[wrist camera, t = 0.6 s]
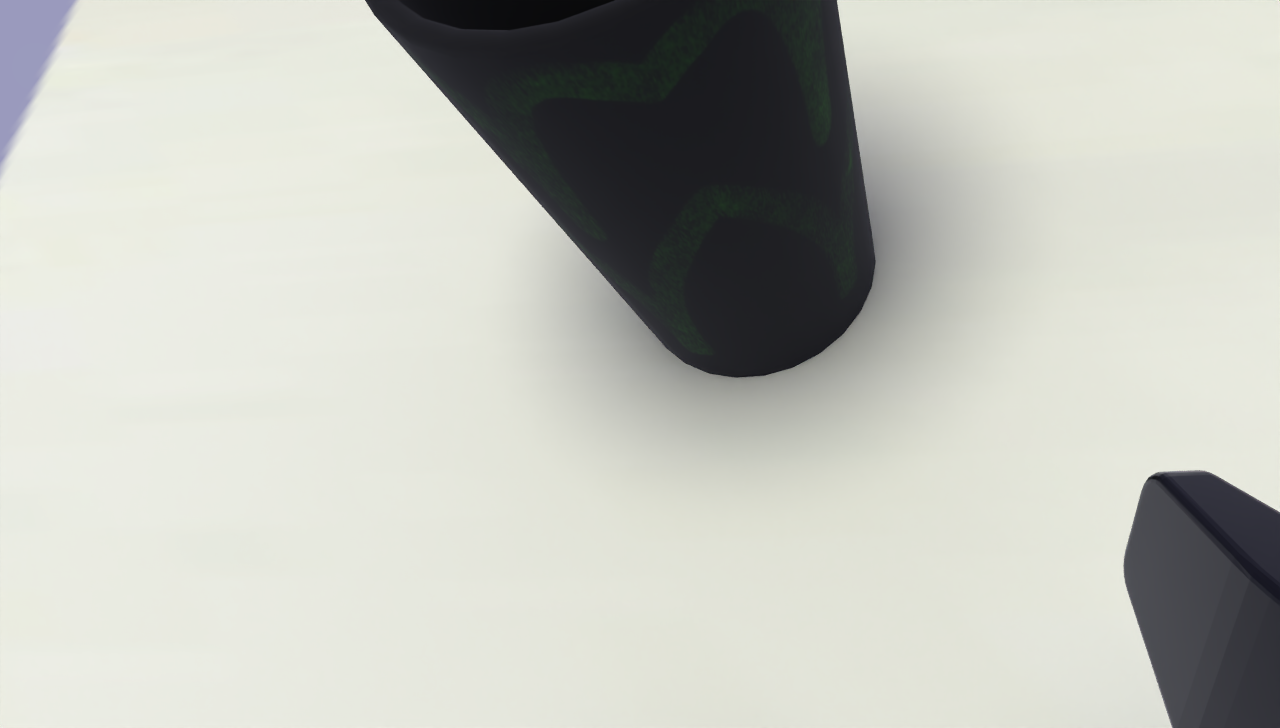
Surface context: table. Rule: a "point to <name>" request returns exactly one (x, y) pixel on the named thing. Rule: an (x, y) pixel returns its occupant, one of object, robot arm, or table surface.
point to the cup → (676, 155)
